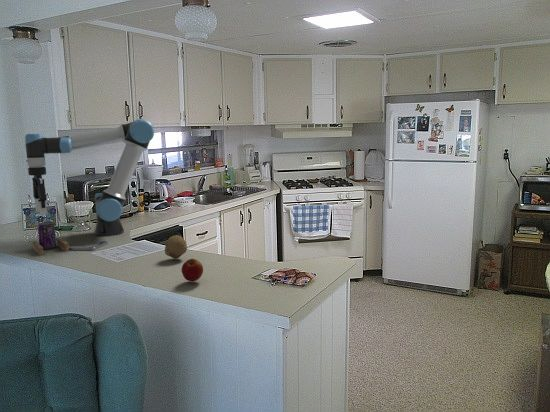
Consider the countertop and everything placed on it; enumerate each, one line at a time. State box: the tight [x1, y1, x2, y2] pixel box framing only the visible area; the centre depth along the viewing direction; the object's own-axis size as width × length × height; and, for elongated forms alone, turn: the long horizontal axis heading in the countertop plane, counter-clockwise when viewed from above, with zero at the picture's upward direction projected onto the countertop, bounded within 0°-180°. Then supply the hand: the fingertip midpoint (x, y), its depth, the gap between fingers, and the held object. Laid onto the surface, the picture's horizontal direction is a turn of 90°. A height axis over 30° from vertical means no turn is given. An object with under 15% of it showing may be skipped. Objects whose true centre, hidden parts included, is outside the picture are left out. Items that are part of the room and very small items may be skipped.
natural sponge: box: [164, 235, 188, 259], centre depth 192 cm, size 9×9×10 cm
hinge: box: [68, 240, 108, 252], centre depth 213 cm, size 11×19×1 cm, turn 128°
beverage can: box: [37, 221, 57, 250], centre depth 214 cm, size 7×7×12 cm
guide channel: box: [31, 237, 70, 257], centre depth 211 cm, size 12×16×4 cm
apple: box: [181, 258, 204, 282], centre depth 163 cm, size 8×8×8 cm
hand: (41, 213), depth 219 cm, fingers open, 9 cm apart
